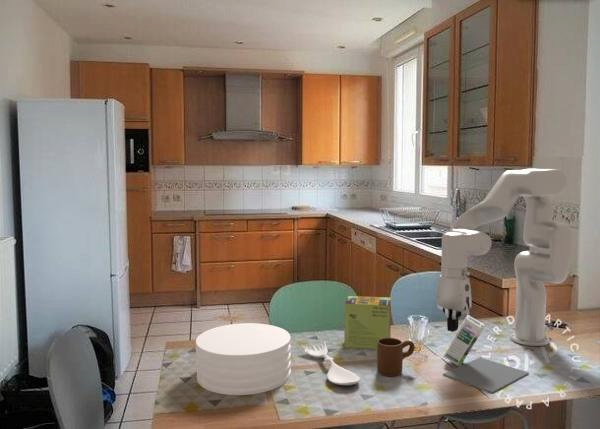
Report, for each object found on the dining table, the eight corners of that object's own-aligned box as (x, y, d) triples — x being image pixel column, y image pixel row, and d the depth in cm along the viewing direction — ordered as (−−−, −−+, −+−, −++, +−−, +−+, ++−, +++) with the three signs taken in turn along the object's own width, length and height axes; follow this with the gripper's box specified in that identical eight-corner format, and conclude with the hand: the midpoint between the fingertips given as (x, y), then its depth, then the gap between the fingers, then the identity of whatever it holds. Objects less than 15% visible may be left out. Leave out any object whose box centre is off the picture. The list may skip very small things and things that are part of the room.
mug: (408, 364, 164) (408, 334, 163) (420, 373, 157) (420, 343, 156) (372, 368, 161) (373, 338, 160) (383, 378, 153) (383, 347, 152)
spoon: (325, 349, 178) (324, 340, 177) (365, 388, 147) (365, 376, 147) (299, 353, 175) (299, 343, 174) (336, 393, 144) (335, 381, 144)
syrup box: (442, 356, 162) (466, 318, 159) (445, 350, 168) (468, 313, 164) (459, 367, 161) (483, 329, 157) (461, 360, 166) (485, 323, 162)
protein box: (389, 350, 176) (390, 305, 174) (344, 347, 179) (344, 303, 177) (390, 339, 186) (391, 297, 184) (347, 337, 189) (347, 295, 187)
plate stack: (297, 391, 146) (297, 351, 145) (195, 399, 142) (193, 358, 140) (284, 354, 173) (284, 320, 172) (198, 360, 169) (197, 325, 168)
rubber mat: (480, 358, 168) (480, 357, 168) (528, 373, 156) (528, 372, 155) (442, 375, 155) (442, 373, 155) (492, 393, 143) (492, 392, 143)
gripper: (482, 274, 158) (480, 333, 160) (440, 267, 169) (439, 322, 171) (468, 278, 153) (466, 339, 155) (426, 270, 165) (425, 327, 167)
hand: (452, 330), depth 163 cm, fingers closed
